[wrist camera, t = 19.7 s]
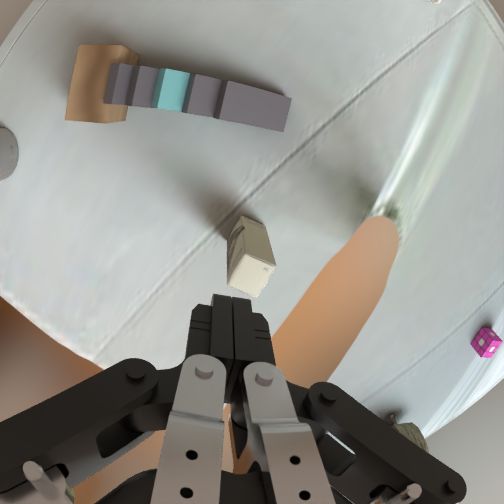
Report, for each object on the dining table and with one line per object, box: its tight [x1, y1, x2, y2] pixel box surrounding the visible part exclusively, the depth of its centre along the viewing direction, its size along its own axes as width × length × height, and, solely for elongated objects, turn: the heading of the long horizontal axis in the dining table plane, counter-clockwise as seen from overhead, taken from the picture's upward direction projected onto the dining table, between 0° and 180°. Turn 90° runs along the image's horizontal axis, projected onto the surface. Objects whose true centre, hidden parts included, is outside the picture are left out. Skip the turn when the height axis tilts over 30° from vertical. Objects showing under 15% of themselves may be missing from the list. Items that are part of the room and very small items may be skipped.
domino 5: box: [214, 80, 292, 132], centre depth 38 cm, size 2×5×10 cm
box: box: [227, 216, 276, 298], centre depth 43 cm, size 5×4×13 cm
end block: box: [65, 45, 139, 124], centre depth 34 cm, size 6×10×8 cm, turn 167°
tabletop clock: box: [390, 414, 429, 453], centre depth 67 cm, size 14×9×25 cm, turn 165°
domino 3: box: [152, 68, 191, 111], centre depth 36 cm, size 2×5×10 cm
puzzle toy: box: [471, 327, 502, 358], centre depth 63 cm, size 6×6×6 cm
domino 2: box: [125, 65, 160, 108], centre depth 35 cm, size 2×5×10 cm
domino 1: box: [103, 63, 133, 105], centre depth 34 cm, size 2×5×10 cm, turn 167°
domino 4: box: [182, 74, 222, 117], centre depth 37 cm, size 2×5×10 cm
